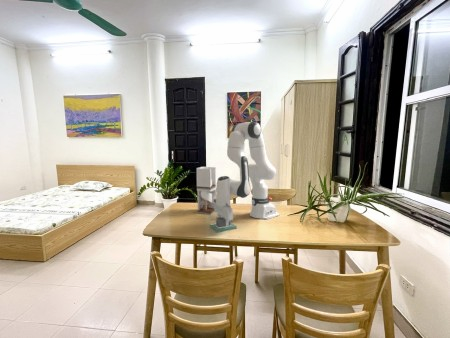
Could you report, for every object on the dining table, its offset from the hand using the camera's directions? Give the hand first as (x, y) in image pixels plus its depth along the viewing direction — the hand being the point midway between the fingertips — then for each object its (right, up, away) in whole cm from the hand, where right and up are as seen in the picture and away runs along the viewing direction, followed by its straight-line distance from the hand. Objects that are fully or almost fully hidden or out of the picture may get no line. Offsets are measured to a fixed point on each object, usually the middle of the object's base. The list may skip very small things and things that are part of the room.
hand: (223, 222), depth 146 cm
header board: (0, -3, 0) cm, 3 cm away
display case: (-13, +1, +33) cm, 35 cm away
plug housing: (0, -2, 0) cm, 2 cm away
